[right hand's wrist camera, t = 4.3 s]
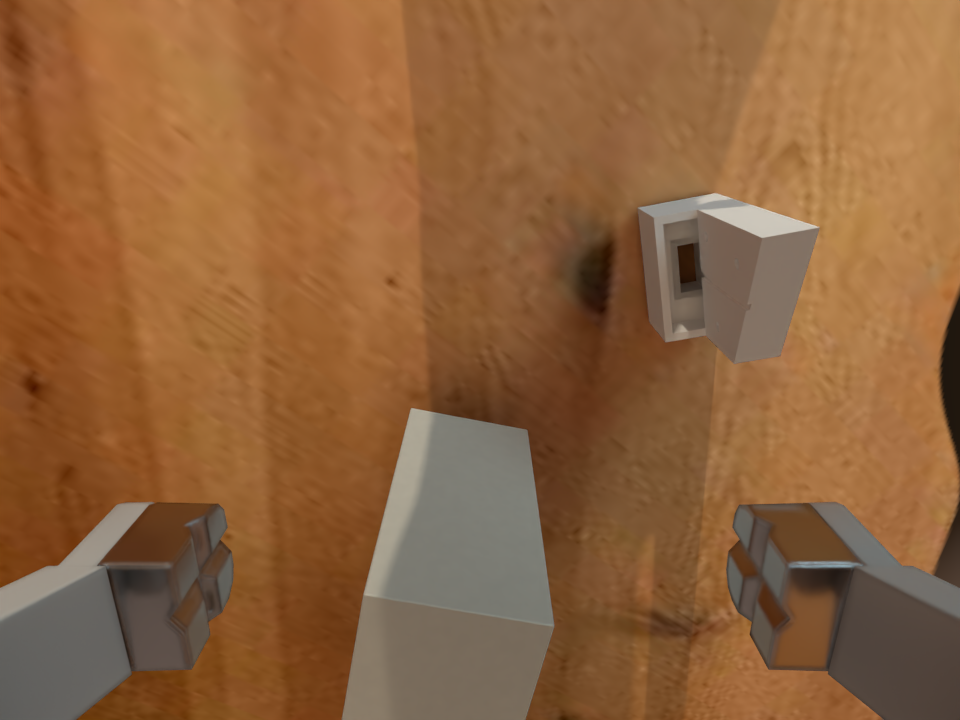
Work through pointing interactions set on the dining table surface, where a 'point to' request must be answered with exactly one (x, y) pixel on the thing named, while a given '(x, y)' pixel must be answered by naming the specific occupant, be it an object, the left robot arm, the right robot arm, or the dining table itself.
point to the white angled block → (725, 273)
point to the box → (454, 580)
